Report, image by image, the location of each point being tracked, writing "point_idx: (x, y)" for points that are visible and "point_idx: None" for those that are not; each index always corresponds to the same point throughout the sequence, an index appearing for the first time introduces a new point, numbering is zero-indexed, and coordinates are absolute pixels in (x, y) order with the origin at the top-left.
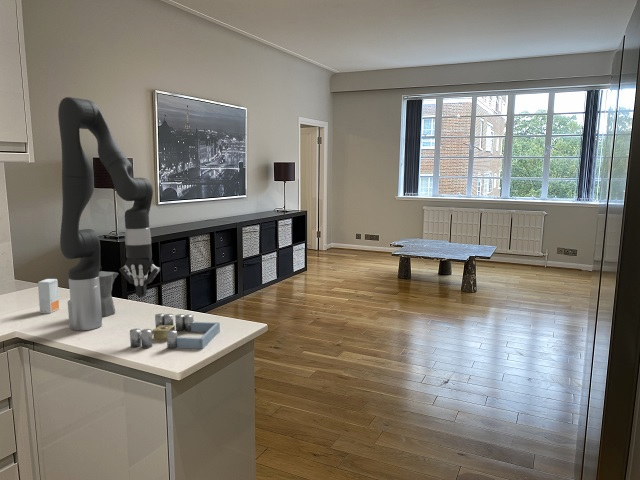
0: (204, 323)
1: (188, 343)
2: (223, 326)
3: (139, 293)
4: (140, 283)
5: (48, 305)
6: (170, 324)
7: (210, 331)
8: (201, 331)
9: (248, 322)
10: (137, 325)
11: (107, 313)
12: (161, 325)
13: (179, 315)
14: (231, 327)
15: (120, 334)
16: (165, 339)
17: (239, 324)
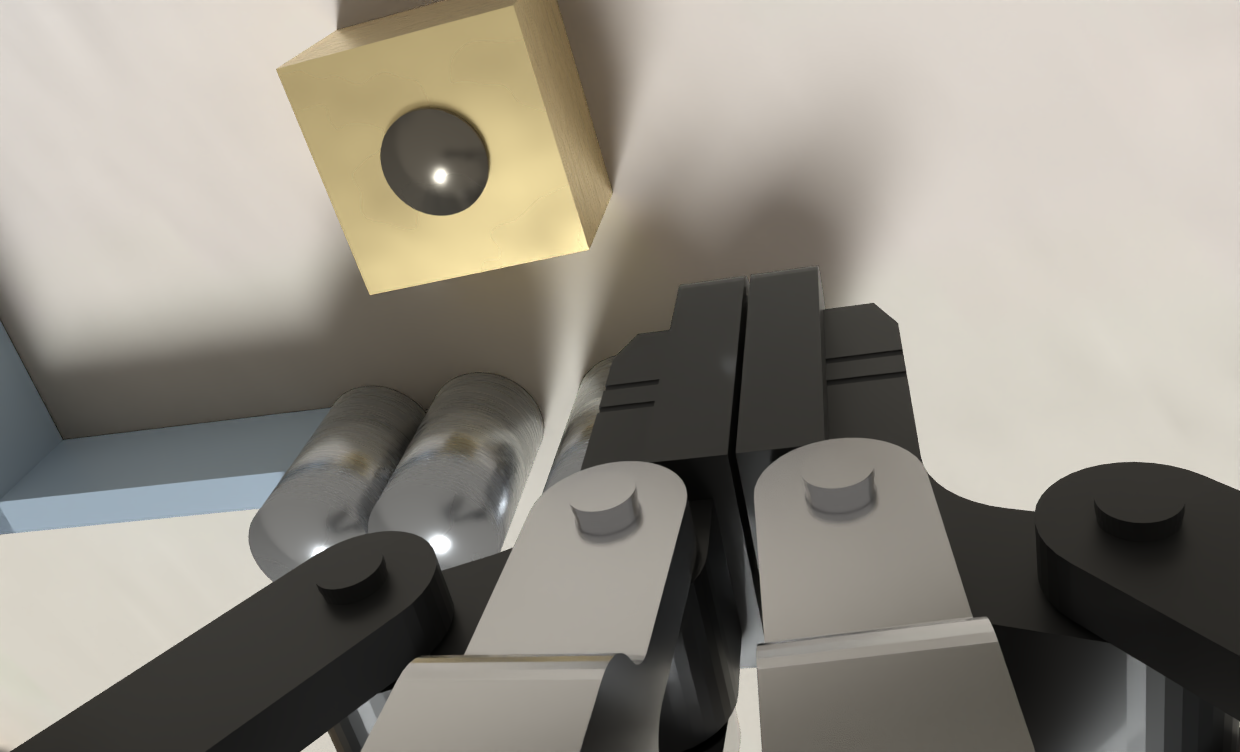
0: (128, 485)
1: None
2: (134, 608)
3: (748, 315)
4: (648, 516)
5: None
6: (570, 417)
7: None
8: (216, 423)
9: (10, 739)
10: (1172, 457)
11: None
12: (550, 247)
13: (436, 536)
14: (40, 596)
15: (1233, 60)
16: (381, 19)
17: (40, 681)
